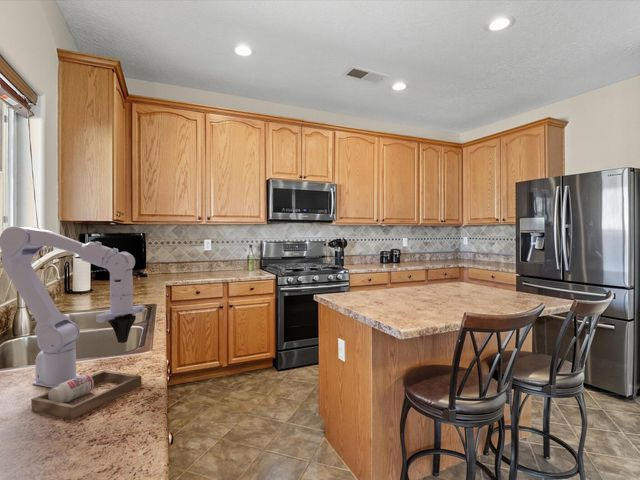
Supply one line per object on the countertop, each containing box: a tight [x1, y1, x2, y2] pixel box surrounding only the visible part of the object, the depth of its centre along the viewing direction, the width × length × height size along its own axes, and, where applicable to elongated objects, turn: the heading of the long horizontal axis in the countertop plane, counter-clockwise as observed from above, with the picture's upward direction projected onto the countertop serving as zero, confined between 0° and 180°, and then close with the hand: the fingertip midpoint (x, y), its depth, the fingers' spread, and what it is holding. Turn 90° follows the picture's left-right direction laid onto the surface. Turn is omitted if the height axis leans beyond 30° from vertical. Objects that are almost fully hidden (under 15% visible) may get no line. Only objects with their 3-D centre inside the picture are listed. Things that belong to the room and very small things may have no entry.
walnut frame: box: [30, 369, 142, 420], centre depth 88 cm, size 14×18×2 cm
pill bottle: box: [47, 373, 95, 404], centre depth 86 cm, size 5×5×8 cm
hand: (122, 342), depth 100 cm, fingers closed
